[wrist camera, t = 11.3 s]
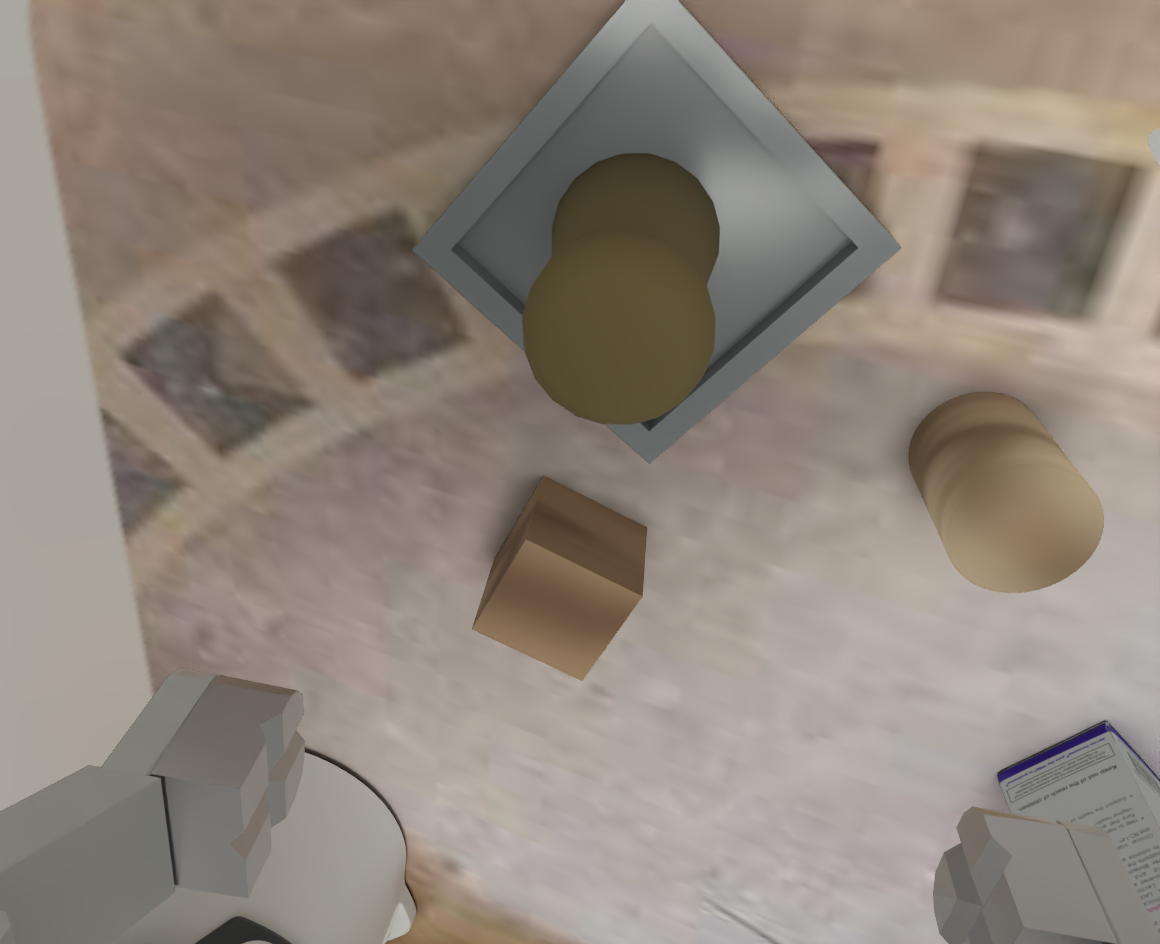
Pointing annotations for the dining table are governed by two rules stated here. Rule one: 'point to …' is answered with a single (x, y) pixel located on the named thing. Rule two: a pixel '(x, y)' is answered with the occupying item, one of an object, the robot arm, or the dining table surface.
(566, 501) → the walnut block
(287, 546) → the dining table surface
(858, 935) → the dining table surface
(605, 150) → the slate dish
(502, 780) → the dining table surface
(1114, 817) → the supplement box
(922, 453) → the cork cylinder
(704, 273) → the olive hourglass shape
